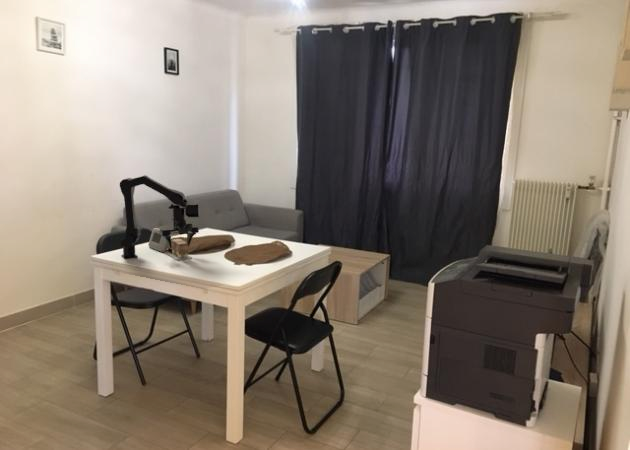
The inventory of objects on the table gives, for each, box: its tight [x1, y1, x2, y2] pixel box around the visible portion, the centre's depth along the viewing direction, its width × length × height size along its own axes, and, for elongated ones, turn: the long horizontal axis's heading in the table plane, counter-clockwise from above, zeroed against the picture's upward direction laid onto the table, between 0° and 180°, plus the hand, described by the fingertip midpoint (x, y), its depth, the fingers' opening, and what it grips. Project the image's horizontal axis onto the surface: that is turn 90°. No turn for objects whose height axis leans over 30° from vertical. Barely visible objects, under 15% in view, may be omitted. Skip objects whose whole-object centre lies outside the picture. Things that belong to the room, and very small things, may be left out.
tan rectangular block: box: [171, 238, 189, 254], centre depth 257 cm, size 12×4×5 cm, turn 34°
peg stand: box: [168, 249, 192, 261], centre depth 258 cm, size 12×8×3 cm, turn 34°
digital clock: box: [148, 227, 172, 253], centre depth 271 cm, size 16×9×11 cm, turn 34°
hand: (179, 247), depth 258 cm, fingers open, 9 cm apart
